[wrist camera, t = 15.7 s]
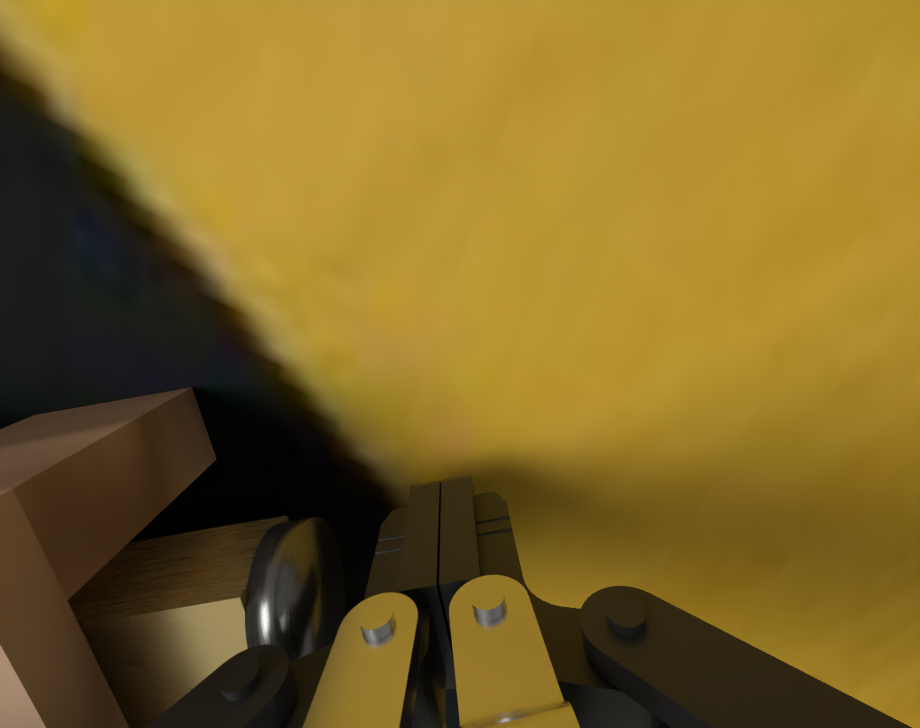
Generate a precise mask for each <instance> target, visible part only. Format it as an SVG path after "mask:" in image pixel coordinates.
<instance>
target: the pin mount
mask: <svg viewBox="0 0 920 728" xmlns="http://www.w3.org/2000/svg"><path fill="white" fill-rule="evenodd" d="M215 460H216V456H215V453H214V450H213V447H212V444H211V441H210V438H209V436H208V433H207V430H206V427H205V424H204V421H203V418H202V415H201V412H200V410H199V407H198V404H197V401H196V398H195V395H194V392H193V389H192V387H191V388H185V389H179V390H174V391H168V392H162V393H157V394H151V395H146V396H140V397H134V398H129V399H123V400H117V401H112V402H106V403H100V404H95V405H89V406H83V407H78V408H72V409H66V410H61V411H55V412H49V413H44V414H38V415H34V416H31V417H29V418H27V419H24V420H22V421H19V422H17V423H14V424H12V425H10V426H7V427H5V428H2V429H0V728H129V726H128V724H127V722H126V720H125V718H124V716H123V714H122V712H121V710H120V708H119V706H118V704H117V701H116V699H115V697H114V695H113V693H112V691H111V689H110V687H109V685H108V683H107V681H106V679H105V677H104V675H103V673H102V671H101V669H100V667H99V665H98V662H97V660H96V658H95V656H94V654H93V652H92V650H91V648H90V646H89V644H88V642H87V640H86V638H85V636H84V634H83V632H82V630H81V628H80V626H79V624H78V621H77V619H76V617H75V615H74V613H73V611H72V609H71V607H70V605H69V603H68V601H67V600H68V599H69V598H71V597H72V596H73V595H74V594H75V593H76V592H77V591H78V590H79V589H80V588H81V587H82V586H83V585H84V584H85V583H86V582H87V581H88V580H90V579H91V578H92V577H93V576H94V575H95V574H96V573H97V572H98V571H99V570H100V569H101V568H102V567H103V566H104V565H105V564H106V563H108V562H109V561H110V560H111V559H112V558H113V557H114V556H115V555H116V554H117V553H118V552H119V551H120V550H121V549H122V548H123V547H124V546H125V545H127V544H128V543H129V542H130V541H131V540H132V539H133V538H134V537H135V536H136V535H137V534H138V533H139V532H140V531H141V530H142V529H143V528H145V527H146V526H147V525H148V524H149V523H150V522H151V521H152V520H153V519H154V518H155V517H156V516H157V515H158V514H159V513H160V512H161V511H162V510H164V509H165V508H166V507H167V506H168V505H169V504H170V503H171V502H172V501H173V500H174V499H175V498H176V497H177V496H178V495H179V494H180V493H182V492H183V491H184V490H185V489H186V488H187V487H188V486H189V485H190V484H191V483H192V482H193V481H194V480H195V479H196V478H197V477H198V476H200V475H201V474H202V473H203V472H204V471H205V470H206V469H207V468H208V467H209V466H210V465H211V464H212V463H213V462H214V461H215ZM142 728H146V727H142Z"/></svg>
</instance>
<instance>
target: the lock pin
mask: <svg viewBox="0 0 920 728" xmlns="http://www.w3.org/2000/svg"><path fill="white" fill-rule="evenodd" d="M67 601H68V603H69V605H70V607H71V609H72V611H73V613H74V615H75V617H76V619H77V621H78V624H79V626H80V628H81V630H82V632H83V634H84V636H85V638H86V640H87V642H88V644H89V646H90V648H91V650H92V652H93V654H94V656H95V658H96V660H97V662H98V665H99V667H100V669H101V671H102V673H103V675H104V677H105V679H106V681H107V683H108V685H109V687H110V689H111V691H112V693H113V695H114V697H115V699H116V701H117V704H118V706H119V708H120V710H121V712H122V714H123V716H124V718H125V720H126V722H127V724H128V726H129V728H142V727H147V726H148V725H150V724H151V723H152V722H153V721H154V720H156V719H157V718H158V717H159V716H160V715H162V714H163V713H164V712H165V711H166V710H168V709H169V708H170V707H171V706H172V705H174V704H175V703H176V702H177V701H178V700H180V699H181V698H182V697H183V696H185V695H186V694H187V693H188V692H189V691H191V690H192V689H193V688H194V687H195V686H197V685H198V684H199V683H200V682H201V681H203V680H204V679H205V678H206V677H207V676H209V675H210V674H211V673H212V672H213V671H215V670H216V669H217V668H218V667H219V666H221V665H222V664H223V663H224V662H226V661H227V660H228V659H230V658H231V657H233V656H235V655H236V654H238V653H240V652H242V651H244V650H246V649H249V648H251V647H254V646H258V645H265V644H270V645H276V646H279V647H280V648H282V649H283V650H284V651H285V652H286V654H287V656H288V659H289V662H292V661H294V660H297V659H299V658H301V657H303V656H306V655H308V654H310V653H312V652H314V651H317V650H319V649H321V648H323V647H325V646H327V645H329V644H330V643H332V642H333V641H335V638H336V635H337V633H338V630H339V627H340V625H341V623H342V621H343V620H344V618H345V581H344V571H343V564H342V559H341V554H340V550H339V546H338V542H337V539H336V537H335V534H334V532H333V530H332V528H331V526H330V525H329V523H328V522H327V521H326V520H325V519H323V518H321V517H313V518H307V519H301V520H295V521H290V522H289V520H288V516H287V515H285V516H279V517H273V518H267V519H262V520H256V521H250V522H245V523H239V524H233V525H227V526H222V527H216V528H210V529H204V530H199V531H193V532H187V533H182V534H176V535H170V536H164V537H159V538H153V539H147V540H142V541H136V542H130V543H128V544H127V545H125V546H124V547H123V548H122V549H121V550H120V551H119V552H118V553H117V554H116V555H115V556H114V557H113V558H112V559H111V560H110V561H109V562H108V563H106V564H105V565H104V566H103V567H102V568H101V569H100V570H99V571H98V572H97V573H96V574H95V575H94V576H93V577H92V578H91V579H90V580H88V581H87V582H86V583H85V584H84V585H83V586H82V587H81V588H80V589H79V590H78V591H77V592H76V593H75V594H74V595H73V596H72V597H71V598H69V599H68V600H67Z"/></svg>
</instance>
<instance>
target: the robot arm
mask: <svg viewBox="0 0 920 728" xmlns="http://www.w3.org/2000/svg"><path fill="white" fill-rule="evenodd" d="M454 688H457V698H458V708H459V718H460V728H911V727H910V726H908V725H906V724H904V723H902V722H900V721H898V720H896V719H894V718H892V717H890V716H888V715H886V714H884V713H882V712H880V711H878V710H876V709H874V708H872V707H871V706H869V705H867V704H865V703H863V702H861V701H859V700H857V699H855V698H853V697H851V696H849V695H847V694H845V693H843V692H841V691H839V690H837V689H835V688H833V687H831V686H830V685H828V684H826V683H824V682H822V681H820V680H818V679H816V678H814V677H812V676H810V675H808V674H806V673H804V672H802V671H800V670H798V669H796V668H794V667H792V666H791V665H789V664H787V663H785V662H783V661H781V660H779V659H777V658H775V657H773V656H771V655H769V654H767V653H765V652H763V651H761V650H759V649H757V648H755V647H753V646H751V645H750V644H748V643H746V642H744V641H742V640H740V639H738V638H736V637H734V636H732V635H730V634H728V633H726V632H724V631H722V630H720V629H718V628H716V627H714V626H712V625H711V624H709V623H707V622H705V621H703V620H701V619H699V618H697V617H695V616H693V615H691V614H689V613H687V612H685V611H683V610H681V609H679V608H677V607H675V606H673V605H671V604H670V603H668V602H666V601H664V600H662V599H660V598H658V597H656V596H654V595H652V594H650V593H648V592H646V591H643V590H640V589H637V588H633V587H627V586H614V587H608V588H604V589H601V590H599V591H597V592H595V593H593V594H592V595H591V596H590V597H588V599H587V600H586V601H585V602H584V604H583V606H582V608H581V609H577V608H568V607H561V606H556V605H552V604H549V603H547V602H545V601H542V600H541V599H539V598H538V597H536V596H535V595H534V594H533V593H531V591H530V590H529V589H528V588H527V586H526V584H525V582H524V579H523V575H522V571H521V567H520V562H519V558H518V553H517V549H516V545H515V540H514V536H513V531H512V527H511V523H510V519H509V514H508V509H507V505H506V502H505V501H504V500H503V499H502V498H501V497H500V496H499V495H498V494H497V493H495V492H490V493H485V494H479V495H474V489H473V484H472V480H471V476H470V475H469V476H463V477H458V478H452V479H446V480H442V482H441V481H436V482H430V483H424V484H418V485H413V486H412V487H411V491H410V498H409V505H408V507H405V508H400V509H394V510H392V512H391V513H390V514H389V515H388V517H387V518H386V519H385V520H384V522H383V523H382V525H381V529H380V533H379V537H378V542H377V546H376V550H375V555H374V558H373V563H372V567H371V571H370V575H369V580H368V584H367V588H366V592H365V597H364V601H362V602H361V603H359V604H358V605H356V606H355V607H354V608H353V609H352V610H351V611H350V612H349V613H348V614H347V615H346V616H345V618H344V620H343V621H342V623H341V625H340V627H339V630H338V633H337V635H336V638H335V641H333V642H332V643H330V644H329V645H327V646H325V647H323V648H321V649H319V650H317V651H314V652H312V653H310V654H308V655H306V656H303V657H301V658H299V659H297V660H294V661H292V662H289V659H288V656H287V654H286V652H285V651H284V650H283V649H282V648H280V647H279V646H276V645H270V644H265V645H258V646H254V647H251V648H249V649H246V650H244V651H242V652H240V653H238V654H236V655H235V656H233V657H231V658H230V659H228V660H227V661H226V662H224V663H223V664H222V665H221V666H219V667H218V668H217V669H216V670H215V671H213V672H212V673H211V674H210V675H209V676H207V677H206V678H205V679H204V680H203V681H201V682H200V683H199V684H198V685H197V686H195V687H194V688H193V689H192V690H191V691H189V692H188V693H187V694H186V695H185V696H183V697H182V698H181V699H180V700H178V701H177V702H176V703H175V704H174V705H172V706H171V707H170V708H169V709H168V710H166V711H165V712H164V713H163V714H162V715H160V716H159V717H158V718H157V719H156V720H154V721H153V722H152V723H151V724H150V725H148V726H147V727H146V728H447V726H446V722H445V714H446V690H448V689H454Z"/></svg>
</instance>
